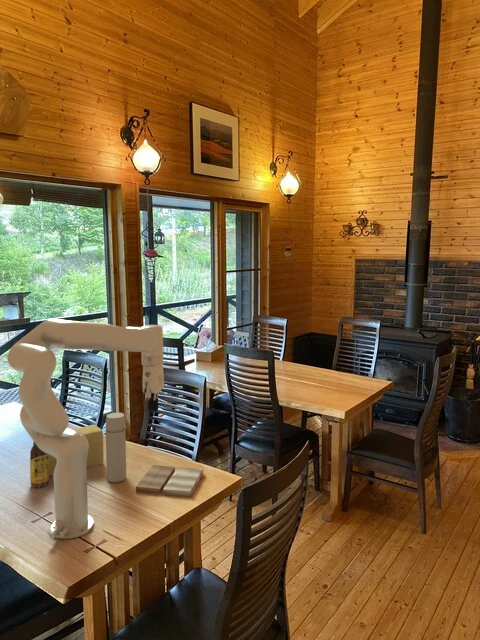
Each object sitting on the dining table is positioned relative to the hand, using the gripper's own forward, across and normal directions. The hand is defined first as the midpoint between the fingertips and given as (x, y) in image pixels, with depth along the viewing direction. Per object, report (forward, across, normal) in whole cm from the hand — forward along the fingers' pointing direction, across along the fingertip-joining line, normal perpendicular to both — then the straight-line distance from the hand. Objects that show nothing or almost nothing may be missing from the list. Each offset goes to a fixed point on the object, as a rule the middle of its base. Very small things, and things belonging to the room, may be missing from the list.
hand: (153, 410), depth 171 cm
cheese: (+29, +9, +37) cm, 48 cm away
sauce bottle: (+29, -6, +42) cm, 52 cm away
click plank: (+29, +4, -10) cm, 31 cm away
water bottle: (+29, +4, +16) cm, 34 cm away
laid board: (+29, +4, +1) cm, 29 cm away
